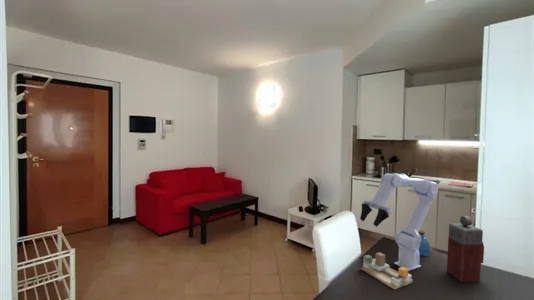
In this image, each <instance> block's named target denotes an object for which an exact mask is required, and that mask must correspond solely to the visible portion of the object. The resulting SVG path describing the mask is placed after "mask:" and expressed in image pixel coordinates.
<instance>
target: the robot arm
mask: <svg viewBox="0 0 534 300" xmlns="http://www.w3.org/2000/svg"><path fill="white" fill-rule="evenodd" d="M380 178H381V179H380V183H379V187H378V189H377V191H376V193H375V195H374V197H373V198H372V200H365V199H364V200H363V202H362V203H361V213H360V217H359V219H360V220H361V221H362V222H365V220H366V219H367V217H368V215H369V214H370V213H371V212H372V211H373V209H375V210H377V211H378V212H377V214H376V217H375V219H374V221H373V225H374V226H375V227H376V228H377V227H379V225H381V223H382V222H383V221H385V220H386V219H388V218H389V217H390V215H391V214H392V212H393V209H392V208H390V207H387V206H386V205H387V203H388V201H389V199H390V197H391V196H392V193H393V192H394V190H395V188H406V187H408V186H412V189H413V191H414V194H415V196H416V197H417V198H418V199H419V200H418V202H417V204H416V206H415V209H414V210H413V213H412V214H411V216H410V219H409V221H408V223H407V226H405V227H401V228H400V229H399V231H398V232H397V233H396V235H395V236H394V237H395V243H396V244H397V246H398V261H395V262H394V264H393V265H396V266H398V267H399V268H401V267H405V268H407V269H408V272H409V271H410V272H411V271H412V270H415V269H419V268H421V267H422V265H421V264H420V258H421V257H420V256H421V255H420V253H419V250H418V249H419V247H420V242H421V239H422V238H421V236H420V235H419V233H418V231H420V229H421V227H422V224H423V222H424V220H425V219H426V216H427V214H428V212H429V209H430V207H431V204H432V202H433V201H434V200H435V199H436V197H437V194H438V192H439V185H438V183H437V182H436V181H431V180H428V179H425V178H418V177H417V178H416V177H409V176H408V175H406V174H405V173H400V174H398V173H397V172H396V173H393V174H392V173H385V174H383V175H382V176H381V177H380Z"/></svg>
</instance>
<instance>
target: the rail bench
mask: <svg viewBox="0 0 534 300" xmlns="http://www.w3.org/2000/svg"><path fill="white" fill-rule="evenodd" d="M371 263H375V258H373V256H371V255H369V254H367V255H363V263H362V266H361V271H364V272H365V273H367V274H368V275H369V276H371V277H372V278H373V277H374V278H375V279H377V280H378V281H379V282H381V283H383V284H385V285H386V286H388V287H389V288H391V289H393V290H397V289H399V288H402V287H404V286H407V285H410V284H412V283H414V279H412V277H413V275H412V274H411V273H408V276H406V277H401V276H400V275H398V271H397V270H396V269H394V268H391V267H390V268H387V269H384V270H381V271H378V270H376V269H374V268H373V267H371V266H370V264H371Z"/></svg>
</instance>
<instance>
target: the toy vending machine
mask: <svg viewBox="0 0 534 300" xmlns="http://www.w3.org/2000/svg"><path fill="white" fill-rule="evenodd" d="M459 221H460V222H459V223H456V222H455V223H449V224H448V242H447V259H446V272H447V273H448V274H450V275H451V276H452V277H454V278H456V279H457V280H458V281H460V282H480V281H481V273H482V271H481V269H482V264H484V257H485V246H484V242H483V239H484V237H483V236H484V235H483V234H484V231H483V229H481V228H480V227H476V226H474V225H472V221H473V220H472V218H471V217H470V216H468V215H462V216H460V219H459Z"/></svg>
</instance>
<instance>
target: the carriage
mask: <svg viewBox="0 0 534 300" xmlns="http://www.w3.org/2000/svg"><path fill="white" fill-rule="evenodd" d="M374 257H375V258H374V259H375V263H371V264H370V266H371V267H373V268H374V269H376V270H378V271H381V270H384V269H387V268H391V265H390V264H388V263H386V254H384V253H383V252H380V251H379V252H376V253H375V256H374Z"/></svg>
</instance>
